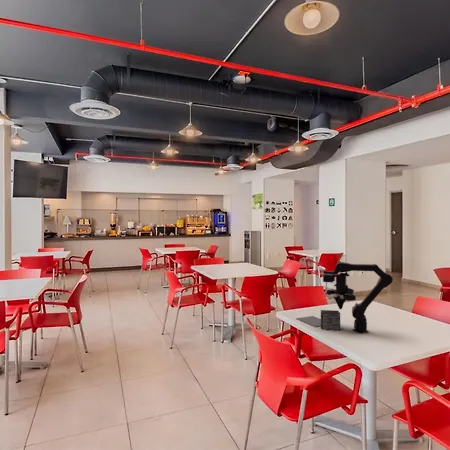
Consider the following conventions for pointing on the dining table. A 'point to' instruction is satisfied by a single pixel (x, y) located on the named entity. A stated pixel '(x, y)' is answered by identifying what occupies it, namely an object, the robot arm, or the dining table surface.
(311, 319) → the mat
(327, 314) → the small box
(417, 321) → the dining table surface
